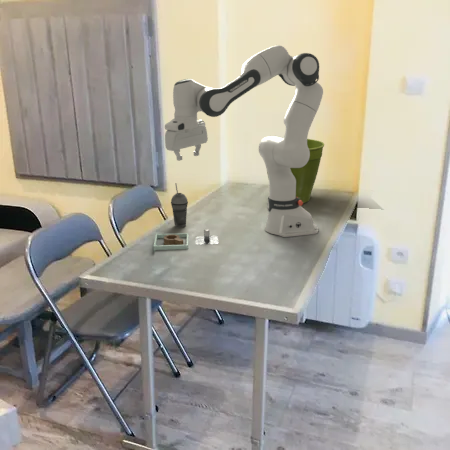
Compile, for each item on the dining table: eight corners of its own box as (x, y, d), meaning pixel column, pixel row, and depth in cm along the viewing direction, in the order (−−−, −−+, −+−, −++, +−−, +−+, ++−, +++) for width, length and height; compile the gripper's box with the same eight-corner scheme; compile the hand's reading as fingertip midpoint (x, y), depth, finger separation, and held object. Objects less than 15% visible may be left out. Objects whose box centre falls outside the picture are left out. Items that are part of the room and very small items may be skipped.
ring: (161, 244, 207) (160, 237, 206) (172, 240, 211) (172, 233, 210) (176, 249, 202) (175, 242, 201) (187, 245, 206) (187, 238, 205)
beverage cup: (186, 231, 222) (184, 185, 216) (169, 230, 224) (167, 185, 217) (190, 225, 229) (189, 181, 222) (174, 224, 230) (172, 180, 224)
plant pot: (253, 205, 256) (254, 146, 247) (272, 189, 282) (273, 136, 273) (313, 211, 246) (316, 150, 236) (327, 194, 272) (330, 139, 262)
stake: (217, 237, 214) (217, 226, 213) (218, 246, 206) (218, 233, 204) (195, 238, 214) (195, 226, 212) (195, 246, 206) (195, 234, 204)
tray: (188, 238, 214) (188, 233, 213) (188, 251, 202) (188, 245, 201) (156, 239, 213) (155, 234, 212) (153, 252, 201) (153, 246, 200)
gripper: (198, 118, 212) (200, 152, 217) (161, 125, 198) (163, 161, 202) (210, 119, 208) (211, 154, 213) (172, 127, 194) (175, 164, 198)
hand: (188, 157), depth 207 cm, fingers open, 8 cm apart
